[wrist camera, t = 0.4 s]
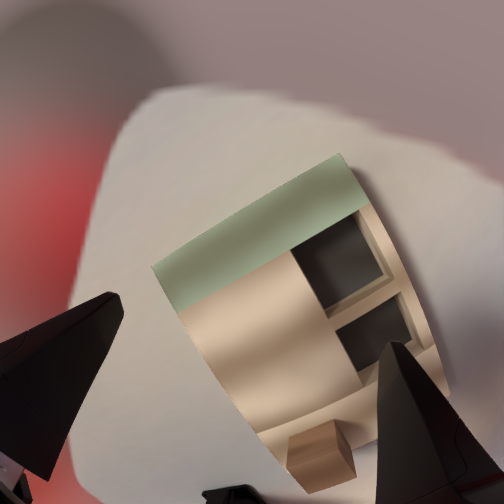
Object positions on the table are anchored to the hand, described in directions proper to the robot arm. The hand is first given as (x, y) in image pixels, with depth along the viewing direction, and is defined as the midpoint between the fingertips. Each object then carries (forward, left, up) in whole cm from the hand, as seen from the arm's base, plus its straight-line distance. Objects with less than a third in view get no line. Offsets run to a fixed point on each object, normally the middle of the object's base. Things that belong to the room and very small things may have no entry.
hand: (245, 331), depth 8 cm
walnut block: (-14, +3, -11) cm, 18 cm away
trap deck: (-6, 0, -14) cm, 15 cm away
